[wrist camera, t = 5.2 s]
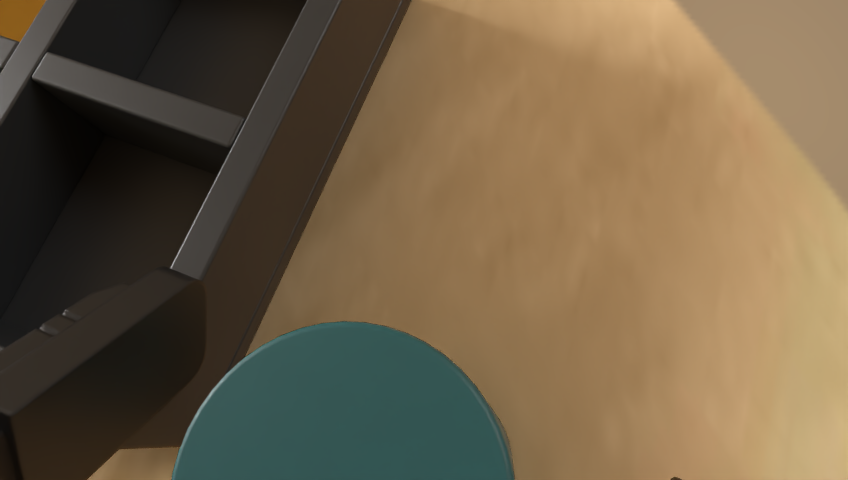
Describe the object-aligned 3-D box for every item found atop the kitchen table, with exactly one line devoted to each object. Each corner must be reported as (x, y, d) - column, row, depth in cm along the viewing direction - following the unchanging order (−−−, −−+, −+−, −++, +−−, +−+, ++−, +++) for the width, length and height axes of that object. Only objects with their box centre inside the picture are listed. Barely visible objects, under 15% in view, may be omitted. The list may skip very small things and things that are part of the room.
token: (538, 415, 15) (569, 395, 7) (475, 593, 14) (433, 789, 6) (380, 351, 16) (258, 273, 8) (312, 515, 15) (101, 601, 7)
